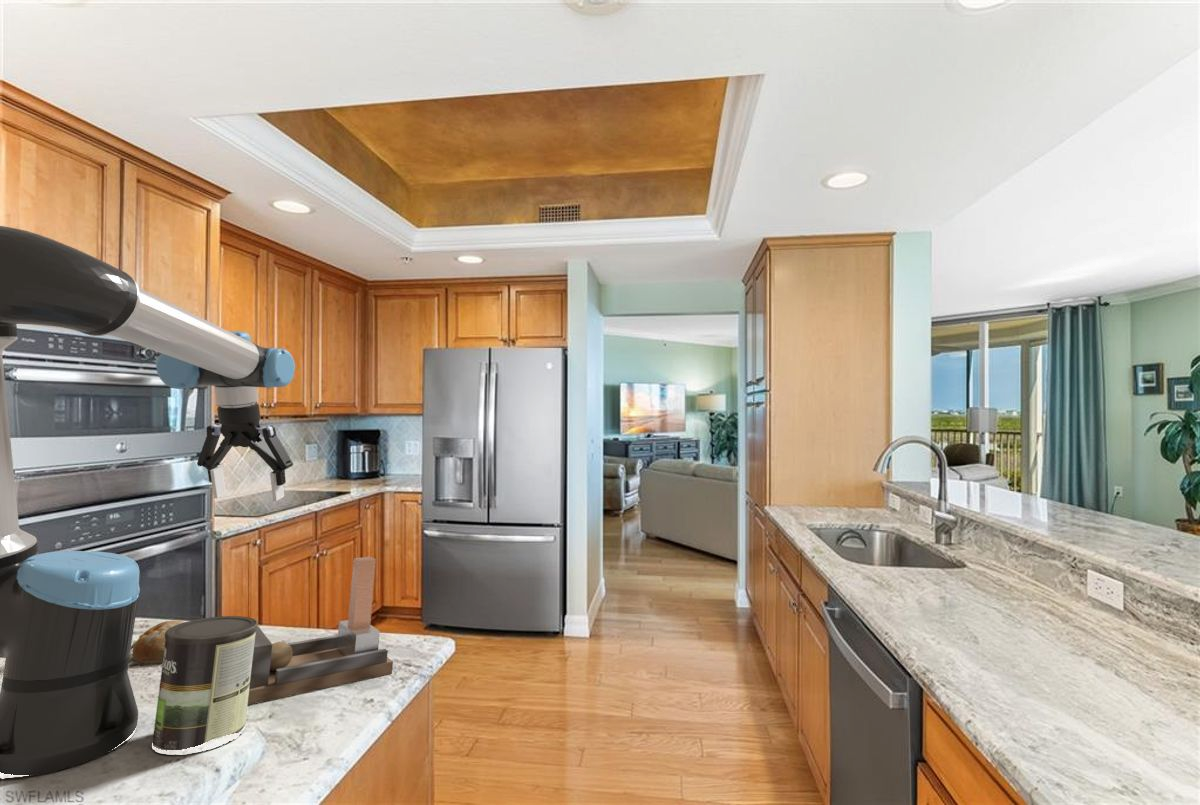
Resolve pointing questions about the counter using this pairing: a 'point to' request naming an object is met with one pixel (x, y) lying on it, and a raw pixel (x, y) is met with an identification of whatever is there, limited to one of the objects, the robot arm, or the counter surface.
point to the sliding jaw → (359, 611)
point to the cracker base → (308, 667)
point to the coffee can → (204, 681)
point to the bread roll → (152, 644)
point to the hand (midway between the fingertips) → (249, 497)
